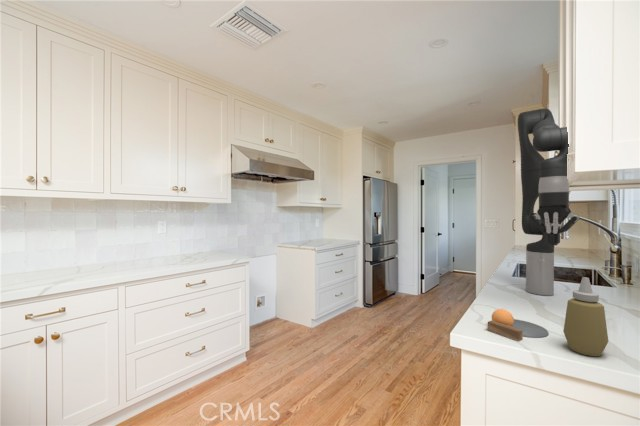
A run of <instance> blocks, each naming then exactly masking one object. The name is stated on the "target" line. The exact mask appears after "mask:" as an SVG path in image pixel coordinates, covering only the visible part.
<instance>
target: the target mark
mask: <svg viewBox="0 0 640 426" xmlns="http://www.w3.org/2000/svg"><path fill="white" fill-rule="evenodd" d="M512 327H514V328H517V329H520V330H523V337H524V338H533V339H534V338H535V339H541V338H546V337H548V336H549V331H548V330H547V329H546V328H544V326H541V325H538V324H535V323H534V322H533V323H532V322H530V321H525V320H521V319H516V318H515V319H514V324H513V326H512Z"/></svg>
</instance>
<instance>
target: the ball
mask: <svg viewBox="0 0 640 426" xmlns="http://www.w3.org/2000/svg"><path fill="white" fill-rule="evenodd" d="M491 320H492V321H495V322H498V323H501V324H504V325H507V326H511V327H512V326H513V324H514V315H513V314H512V313H510V311H508V310H507V309H503V308H499V309H495V310H494V311H493V312H492V314H491Z"/></svg>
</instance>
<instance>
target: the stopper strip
mask: <svg viewBox="0 0 640 426" xmlns="http://www.w3.org/2000/svg"><path fill="white" fill-rule="evenodd" d="M487 331H488V332H489V333H490V332H491V333H493V334H496V335H499V336H502V337H505V338H508V339H510V340H514V341H515V342H520V341H523V330H520V329H517V328H514V327H511V326H507V325H504V324H501V323H498V322H495V321H492V319H491V320H488V321H487Z"/></svg>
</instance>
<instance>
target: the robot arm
mask: <svg viewBox="0 0 640 426" xmlns="http://www.w3.org/2000/svg"><path fill="white" fill-rule="evenodd" d="M567 127H568V126H562V127H560V126H559V125H558V124H556V122H555V119H554V116H553V113H552V110H550V109H549V108H540V109H534V110H533V109H532V110H527V111H524V112H520V113H519V114H518V116H517V131H518V138H519V139H518V141H519V150H520V182H521V192H522V193H521V194H522V195H521V199H522V202H521V203H522V205H521V228H522V231H523V233H524V234H525V235H532V236H535V235H536V236H541V239H540V240H537V241H533V242H529V243H527V244H526V247H525V248H526V249H525V253H526V254H525V257H526V258H525V291H526V292H527V293H530V294H534V295H537V296H538V295H539V296H554V294H555V289H554V287H555V246H558V245H559V244H560V242H561V234H562V233H566V232H568V231H569V230H570V229H571V228H572V227H573V226H575V224H576V223H577V222H578V221H579V220H580V216H577V215H575V214H573V213H572V211H571V209H570V183H569V178H568V179H567V154H568V147H569V144H568V132H567ZM529 135H532V136H533V137H532V142H531V139H530V137H529ZM555 151H558V154H557V155H555V156H553V157H550V158H546V159H545V158H544V157H543V156H542V154H541V153H542V152H544V153H545V152H555ZM540 152H541V153H540ZM537 200H538V209H537V210H536V212H535V205H536V203H537ZM566 219H567V222H566V223H565V224H564V225H563V222H564V221H565V220H566Z"/></svg>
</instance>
